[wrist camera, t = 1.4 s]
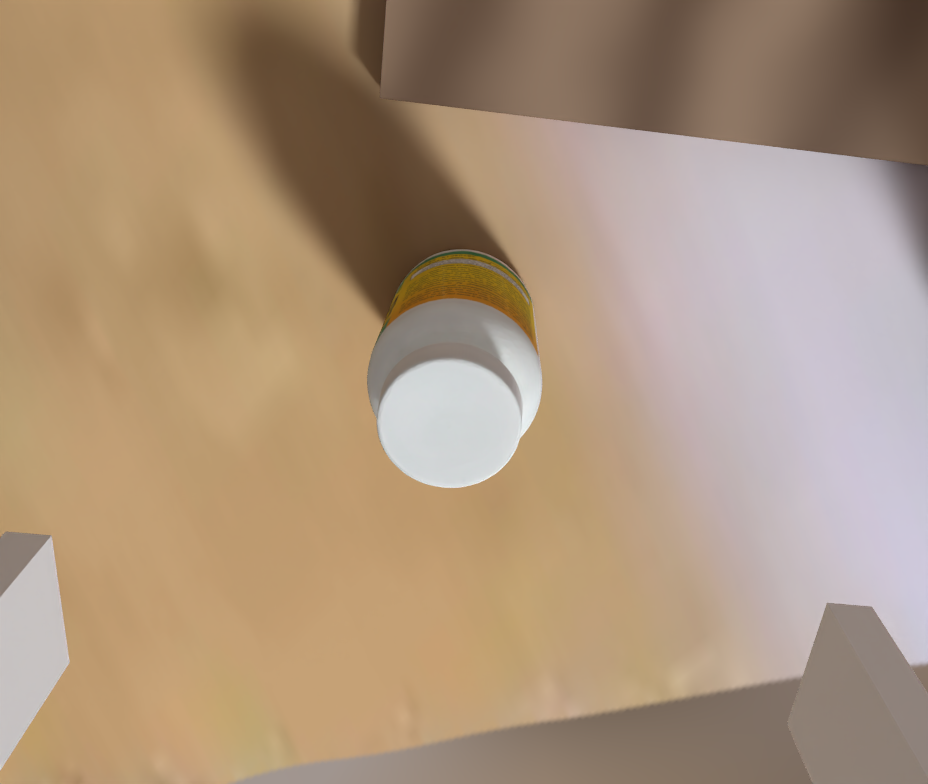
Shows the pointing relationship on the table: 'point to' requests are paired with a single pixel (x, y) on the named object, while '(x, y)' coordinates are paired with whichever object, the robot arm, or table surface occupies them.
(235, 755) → the table surface
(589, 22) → the socket board
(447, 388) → the supplement bottle
